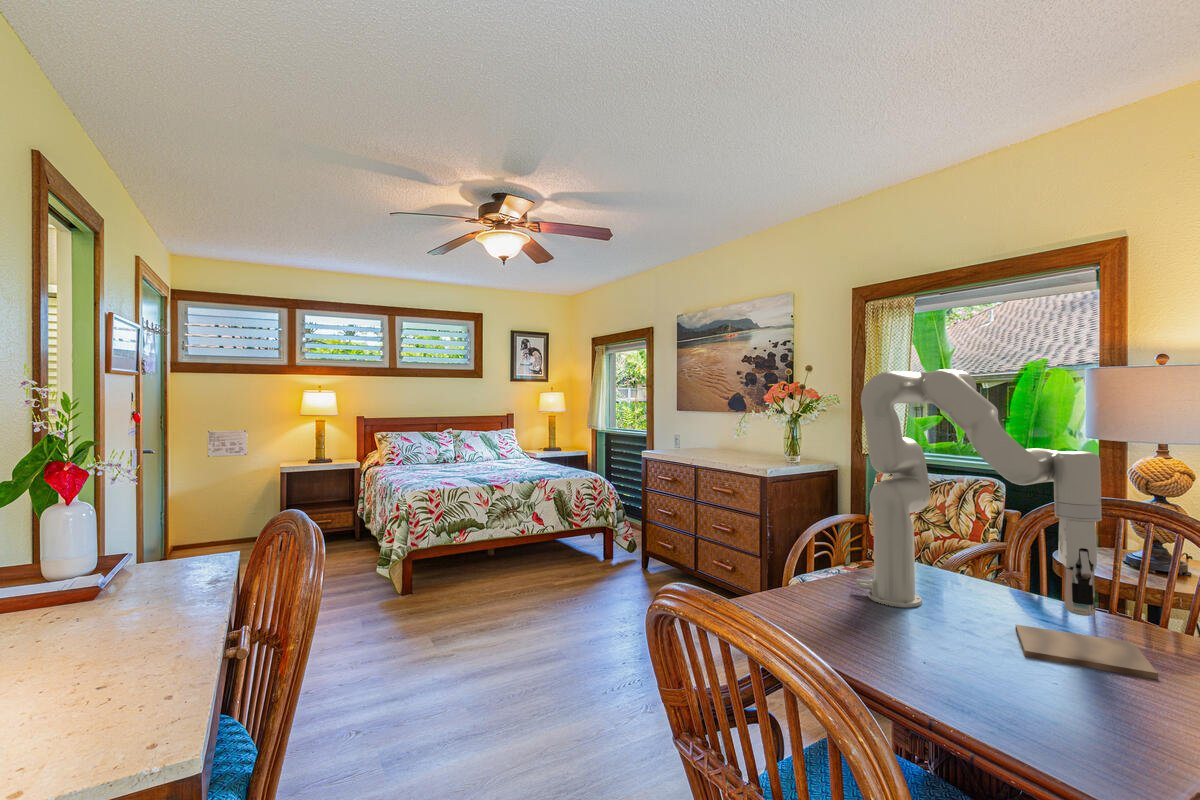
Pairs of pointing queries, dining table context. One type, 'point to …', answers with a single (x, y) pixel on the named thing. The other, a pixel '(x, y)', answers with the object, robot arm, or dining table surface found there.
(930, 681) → the dining table surface
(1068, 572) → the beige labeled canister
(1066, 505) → the robot arm
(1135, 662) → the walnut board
